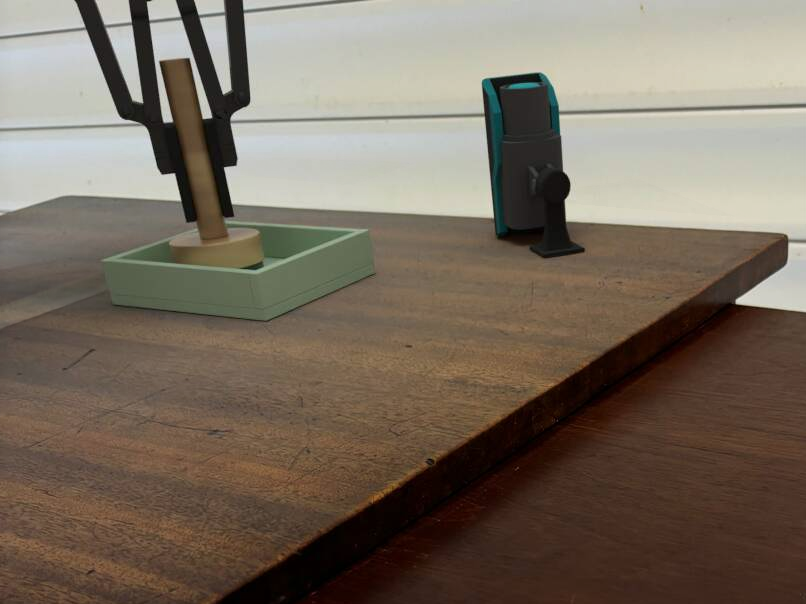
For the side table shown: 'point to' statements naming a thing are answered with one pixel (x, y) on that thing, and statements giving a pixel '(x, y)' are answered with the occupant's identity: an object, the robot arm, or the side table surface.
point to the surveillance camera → (527, 160)
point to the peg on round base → (203, 184)
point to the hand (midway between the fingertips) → (209, 215)
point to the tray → (244, 273)
